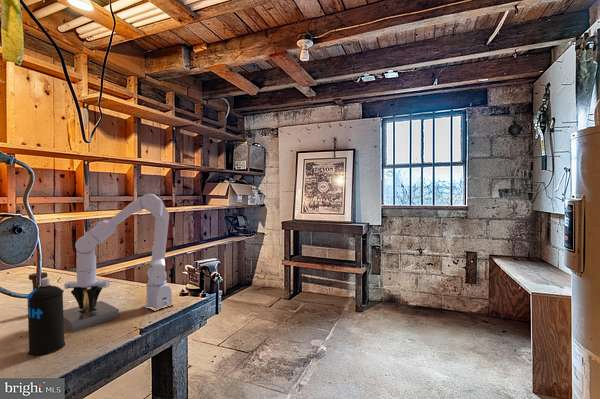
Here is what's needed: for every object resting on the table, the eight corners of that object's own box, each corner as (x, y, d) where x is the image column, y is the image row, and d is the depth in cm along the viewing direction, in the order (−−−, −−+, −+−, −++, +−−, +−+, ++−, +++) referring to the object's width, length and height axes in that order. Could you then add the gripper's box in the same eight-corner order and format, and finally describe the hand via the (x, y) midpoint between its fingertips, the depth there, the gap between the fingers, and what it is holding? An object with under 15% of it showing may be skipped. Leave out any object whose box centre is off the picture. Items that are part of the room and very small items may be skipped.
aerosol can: (61, 339, 93) (59, 273, 93) (69, 347, 88) (67, 277, 88) (25, 350, 87) (22, 279, 87) (31, 359, 82) (29, 284, 81)
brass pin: (94, 313, 111) (94, 288, 111) (89, 316, 108) (89, 290, 108) (86, 313, 110) (85, 288, 111) (80, 316, 107) (80, 290, 108)
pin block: (118, 317, 110) (118, 309, 110) (71, 331, 99) (71, 322, 99) (101, 308, 120) (101, 300, 119) (56, 320, 108) (56, 311, 108)
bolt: (36, 317, 112) (35, 276, 112) (25, 316, 113) (24, 275, 113) (52, 311, 118) (51, 272, 118) (41, 310, 119) (40, 271, 119)
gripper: (113, 266, 113) (115, 303, 113) (74, 267, 113) (75, 304, 113) (101, 271, 106) (103, 310, 106) (59, 272, 106) (60, 311, 106)
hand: (87, 308), depth 109 cm, fingers closed on brass pin, 3 cm apart
